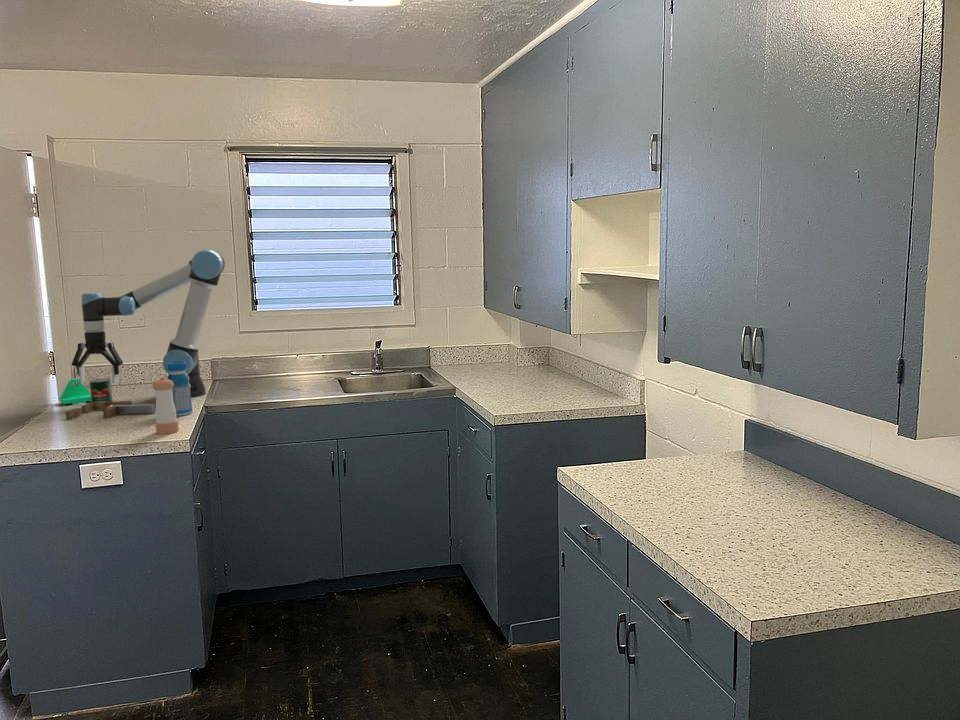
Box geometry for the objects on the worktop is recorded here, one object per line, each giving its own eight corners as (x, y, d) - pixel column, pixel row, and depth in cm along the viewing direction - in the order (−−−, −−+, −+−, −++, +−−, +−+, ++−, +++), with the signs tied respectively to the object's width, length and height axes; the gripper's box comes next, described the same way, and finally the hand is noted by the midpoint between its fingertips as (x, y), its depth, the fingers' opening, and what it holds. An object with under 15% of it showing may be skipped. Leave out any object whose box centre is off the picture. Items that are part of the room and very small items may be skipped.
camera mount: (64, 406, 331) (61, 382, 329) (60, 404, 337) (57, 380, 335) (95, 402, 338) (92, 378, 336) (91, 399, 344) (88, 376, 342)
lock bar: (155, 411, 312) (154, 403, 311) (151, 413, 309) (151, 404, 308) (112, 412, 313) (111, 404, 312) (107, 414, 309) (106, 405, 309)
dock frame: (131, 408, 321) (131, 400, 321) (107, 418, 302) (106, 411, 302) (93, 409, 322) (92, 401, 322) (66, 419, 303) (65, 412, 302)
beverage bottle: (182, 416, 301) (177, 364, 298) (164, 415, 304) (159, 364, 301) (197, 412, 309) (193, 361, 306) (180, 411, 312) (175, 360, 309)
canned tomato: (109, 403, 333) (106, 377, 331) (116, 405, 327) (113, 379, 326) (89, 406, 327) (86, 380, 326) (96, 409, 322) (93, 382, 320)
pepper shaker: (181, 428, 281) (176, 375, 278) (174, 433, 274) (169, 378, 271) (160, 429, 281) (155, 376, 278) (153, 434, 273) (147, 379, 271)
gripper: (129, 329, 326) (133, 380, 329) (69, 330, 327) (74, 381, 330) (120, 331, 319) (124, 383, 322) (59, 332, 320) (64, 384, 323)
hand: (99, 382), depth 326 cm, fingers open, 13 cm apart
